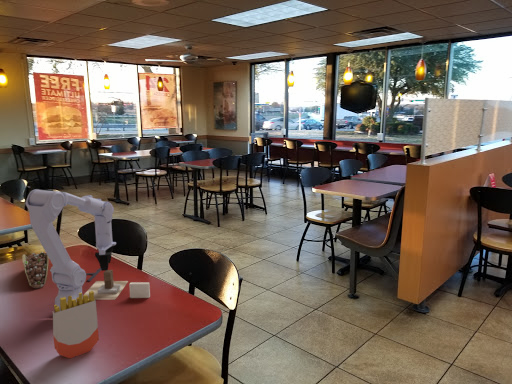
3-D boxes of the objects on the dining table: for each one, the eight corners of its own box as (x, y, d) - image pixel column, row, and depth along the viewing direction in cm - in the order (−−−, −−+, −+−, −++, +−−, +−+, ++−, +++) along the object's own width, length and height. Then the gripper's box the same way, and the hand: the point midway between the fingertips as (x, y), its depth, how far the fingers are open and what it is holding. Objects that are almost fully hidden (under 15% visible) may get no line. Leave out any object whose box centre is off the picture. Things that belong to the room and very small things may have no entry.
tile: (149, 299, 145) (148, 284, 144) (130, 299, 145) (129, 284, 144) (150, 297, 147) (149, 282, 146) (131, 297, 147) (130, 282, 146)
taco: (49, 264, 179) (47, 242, 177) (52, 286, 156) (49, 262, 154) (25, 268, 174) (22, 246, 172) (24, 292, 151) (21, 267, 149)
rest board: (115, 300, 144) (115, 299, 144) (79, 300, 144) (79, 299, 144) (128, 282, 160) (128, 281, 160) (96, 282, 160) (96, 281, 159)
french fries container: (55, 355, 112) (48, 296, 108) (93, 340, 119) (89, 284, 115) (59, 362, 108) (53, 302, 105) (99, 347, 116) (94, 290, 112)
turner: (116, 293, 148) (115, 273, 147) (97, 293, 148) (96, 273, 147) (120, 288, 153) (119, 268, 152) (102, 288, 153) (101, 268, 152)
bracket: (70, 270, 173) (69, 264, 173) (104, 270, 173) (103, 264, 173) (53, 284, 159) (52, 277, 159) (90, 284, 159) (89, 278, 159)
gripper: (112, 237, 143) (115, 272, 145) (117, 226, 157) (119, 258, 159) (91, 238, 141) (94, 274, 144) (98, 227, 155) (100, 260, 158)
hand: (106, 266), depth 151 cm, fingers open, 7 cm apart
